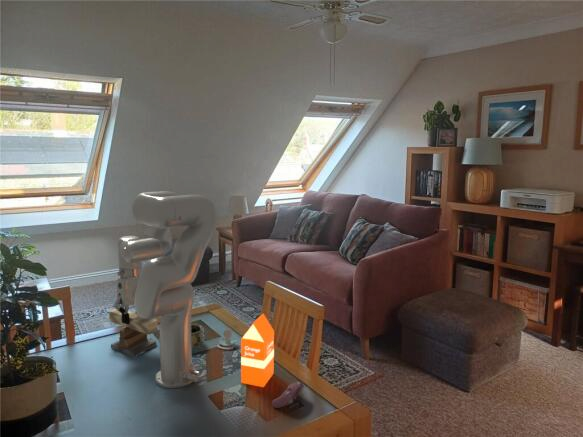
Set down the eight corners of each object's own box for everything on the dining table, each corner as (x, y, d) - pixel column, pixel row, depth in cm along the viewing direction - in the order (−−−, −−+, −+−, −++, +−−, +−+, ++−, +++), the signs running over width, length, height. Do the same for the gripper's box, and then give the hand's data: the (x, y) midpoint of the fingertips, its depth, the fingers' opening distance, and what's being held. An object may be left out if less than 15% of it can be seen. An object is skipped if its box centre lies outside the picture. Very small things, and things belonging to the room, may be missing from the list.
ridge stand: (156, 345, 159) (155, 324, 158) (134, 356, 150) (133, 334, 149) (133, 337, 165) (132, 317, 163) (110, 348, 156) (109, 327, 155)
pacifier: (231, 352, 156) (239, 344, 161) (231, 336, 154) (238, 328, 160) (213, 348, 158) (221, 341, 164) (213, 332, 157) (221, 325, 162)
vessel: (210, 344, 161) (210, 328, 160) (193, 353, 154) (193, 336, 153) (187, 336, 167) (187, 320, 166) (170, 344, 160) (169, 328, 159)
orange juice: (240, 382, 135) (240, 321, 132) (251, 369, 144) (252, 311, 140) (264, 387, 133) (264, 325, 130) (274, 373, 141) (275, 314, 138)
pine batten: (157, 330, 153) (157, 319, 153) (149, 334, 150) (148, 323, 149) (118, 317, 163) (118, 307, 162) (109, 321, 159) (109, 311, 158)
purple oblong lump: (281, 416, 121) (291, 399, 119) (269, 405, 123) (279, 388, 121) (299, 399, 130) (309, 383, 127) (287, 389, 132) (297, 372, 129)
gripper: (117, 279, 144) (120, 331, 147) (156, 267, 159) (158, 314, 162) (102, 275, 147) (105, 326, 150) (142, 264, 162) (143, 310, 165)
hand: (132, 319), depth 156 cm, fingers open, 5 cm apart
